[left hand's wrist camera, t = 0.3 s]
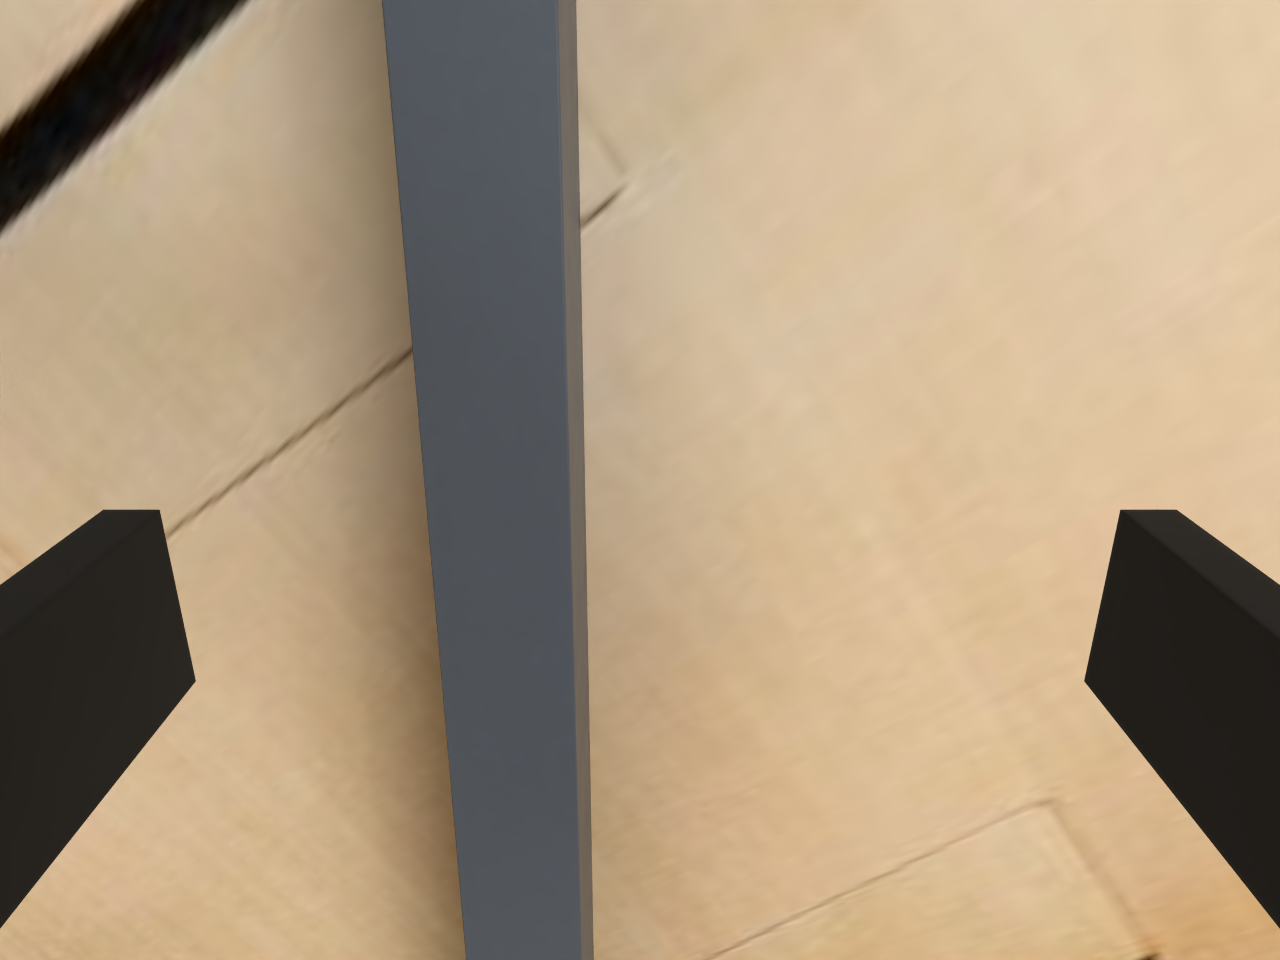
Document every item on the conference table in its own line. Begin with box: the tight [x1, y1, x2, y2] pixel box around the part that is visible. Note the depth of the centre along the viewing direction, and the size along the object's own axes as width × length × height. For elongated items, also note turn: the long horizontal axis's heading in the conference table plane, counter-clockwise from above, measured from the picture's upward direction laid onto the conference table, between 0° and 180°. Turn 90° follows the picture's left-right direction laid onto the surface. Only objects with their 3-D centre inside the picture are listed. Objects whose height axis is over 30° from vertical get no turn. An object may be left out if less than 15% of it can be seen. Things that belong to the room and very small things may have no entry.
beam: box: [382, 0, 594, 960], centre depth 37 cm, size 62×5×8 cm, turn 0°
